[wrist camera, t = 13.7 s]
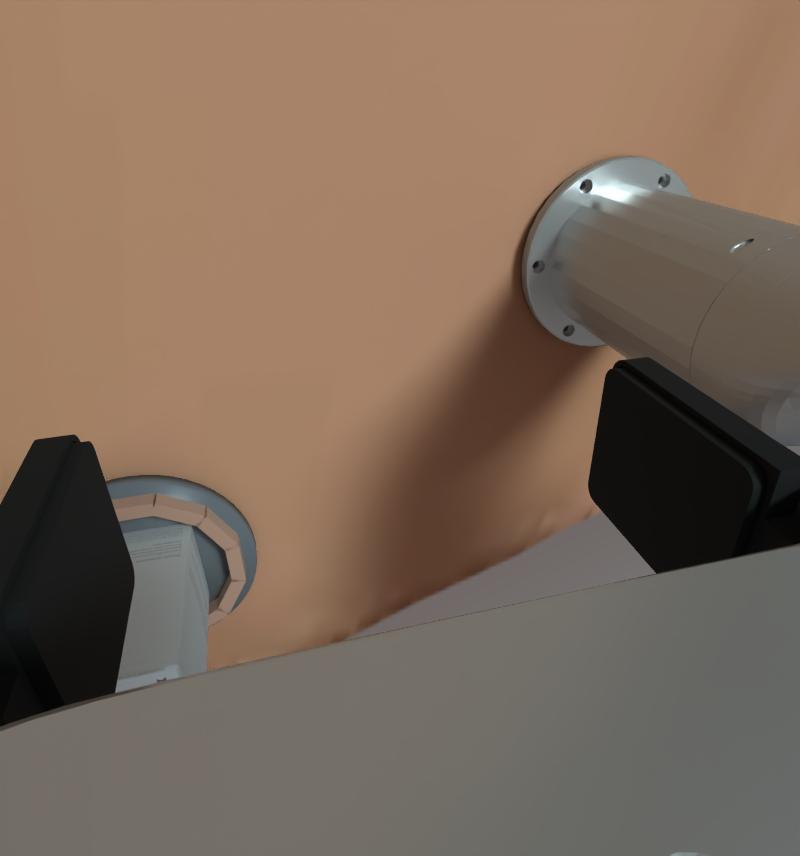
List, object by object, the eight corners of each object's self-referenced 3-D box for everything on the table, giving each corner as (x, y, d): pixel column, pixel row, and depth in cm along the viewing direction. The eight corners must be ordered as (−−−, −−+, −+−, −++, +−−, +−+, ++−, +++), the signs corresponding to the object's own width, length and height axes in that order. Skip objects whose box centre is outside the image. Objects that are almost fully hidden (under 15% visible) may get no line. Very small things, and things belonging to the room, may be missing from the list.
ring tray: (239, 459, 43) (240, 476, 41) (268, 610, 50) (270, 631, 48) (5, 494, 40) (-6, 515, 38) (73, 649, 47) (67, 673, 45)
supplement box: (80, 537, 41) (30, 696, 31) (193, 519, 43) (182, 664, 32) (108, 614, 45) (72, 779, 34) (211, 595, 47) (207, 747, 36)
